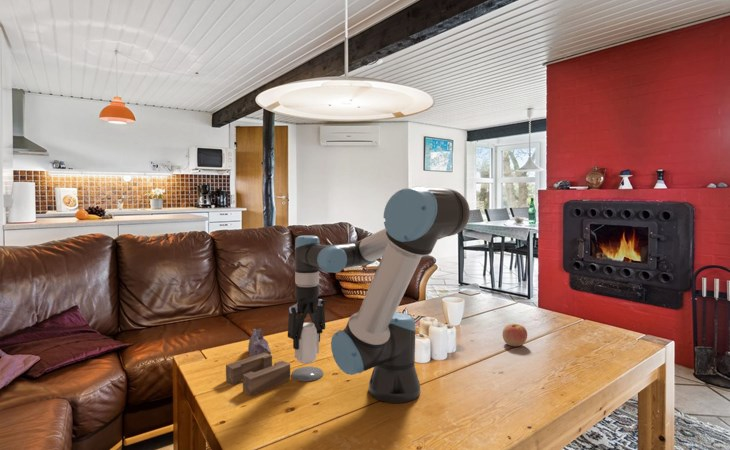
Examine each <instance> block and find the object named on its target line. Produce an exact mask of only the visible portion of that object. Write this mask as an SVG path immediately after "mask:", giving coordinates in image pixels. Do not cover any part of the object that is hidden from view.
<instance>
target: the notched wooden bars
mask: <svg viewBox="0 0 730 450" xmlns="http://www.w3.org/2000/svg"><path fill="white" fill-rule="evenodd" d="M225 381H226V382H228V383H229V384H231V385H232V386H234V385H237V384H240V383H242V392H243V393H246V395H249V396H250V397H252V396H254V395H257V394H260V393H261V392H264V391H267V390H269V389H271V388H274V387H277V386H278V385H281V384H284V383H286V382H289V381H291V364H290V363H288V362H287V361H284V360H280V361H277V362H274V364H273V355H270V354H267V353H265V352H264V353H261V354H258V355H255V356H252V357H251V356H248V357H246V358H244V359H240V360H237V361H234V362H231V363H228V364H226V365H225Z"/></svg>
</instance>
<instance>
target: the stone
mask: <svg viewBox="0 0 730 450" xmlns="http://www.w3.org/2000/svg"><path fill="white" fill-rule="evenodd" d="M247 348H248V349H247V351H248V354H249V357H252V356H255V355H258V354H261V353H264V352H265V353H267V354H270V355H271V354H272V352H271V348H270V345H269V342H268V341H267V340H266V339H265V338H264V333H263V330H262V328H253V329H252V334H251V336H250V338H249V342H248V346H247Z"/></svg>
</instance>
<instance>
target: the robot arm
mask: <svg viewBox="0 0 730 450" xmlns="http://www.w3.org/2000/svg"><path fill="white" fill-rule="evenodd" d="M470 210H471V209H470V205H469V203H468V201H467V199H466V198H465V196H464V195H462V193H460V192H458V191H457V190H455V189H452V188H447V187H446V188H445V187H443V188H437V187H435V188H433V187H423V186H412V187H405V188H402V189H399V190H398V191H396V192H395V193H394V194H393V195H391V197H390V198H389V199H388V200H387V202H386V205H385V207H384V211H383V219H385V221H384V222H383V225H384V229H381V230H379V231H376V232H374V233H371V234H370V235H369V236H366V237H364V238H362V239H360V240H358V241H356V242H347V243H340V244H339V243H338V244H337V243H336V244H326V245H325V244H321V243H320V237H318V236H316V235H299V236H297V237H295V243H294V269H295V270H294V278H295V279H294V283H295V286H294V296H295V299H296V300H295V303H294V304H293V305H291V306H290V305H289V306H288V307H287V312H288V320H287V321H288V322H287V324H288V325H287V338H289V339H291V340H292V347H293V350H294V358H295V359H299V360H302V339H300V336H301V332H302V328H303V324H304V322H305V319H306V318H307V315H309V318H310V322H312V323H314V324H315V327H316V329H317V355H318V354H319V353H320V352H319V351H320V341H321V334H323V332H324V330H326V317H325V316H326V314H325V313H326V311H325V304H326V300H325V299H321V298H319V296H320V285H319V283H320V271H324V272H326V273H334V274H335V273H336V274H337V273H340V272H341V271H342V270H344V269H348V268H354V267H356V268H357V267H365V266H370V265H373V264H374V263H375V262H376V261H377V260H379V259H380V261H379V263H378V266H377V268H376V271H375V273H374V275H373V277H372V279H371V282H370V284H369V287H368V289H367V292H366V294H365V296H364V298H363V300H362V303H361V305H360V308H359V309H358V312H355V313H353V314H351V315H350V316H349V318H348V321H347V323H346V326H345V327H344V329H341V330H338V331H336V332H334V333H333V335H332V336H331V339H330V340H331V341H330V348H331V353H332V357H333V359H334V362H335V363H336V365H337V367H338V368H339V369H340V370H341V371H342V372H343V373H344V374H346V375H352V376H353V375H357V374H362V373H364V372H366V371H367V370H371V369H373V370H372V373H371V375H370V378H369V382H368V392H369V394H370V395H371V396H372V397H373V398H375V399H376V400H379V401H381V402H386V403H392V404H401V403H402V404H403V403H408V402H411V401H414V400H415V399H417V398H418V397H419V396H420V395H421V382H420V380H419V377H418V372H417V370H416V365H415V364H416V363H415V361H416V331H417V330H416V321H415V318H414V317H413V316H412V315H409V314H406V313H404V312H398V311H397V310H398V308H399V306H400V303H401V301H402V300H403V297H404V295H405V293H406V290H407V288H408V286H409V284H410V283H411V280H412V278H413V276H414V274H415V272H416V269H417V268H418V266H419V264H420V261H421V259H422V258H423V257H426V256H427V257H428V256H430V255H431V253H432V252H433V249H434V247H435V245H436V243H437V242H438V240H441V239H443V238H446V237H451V236H455V235H457V234H459V233H461V232H462V231H463V230H464V228H466V226H467V225H468V223H469V220H470V214H471V211H470Z"/></svg>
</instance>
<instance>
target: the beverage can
mask: <svg viewBox="0 0 730 450" xmlns="http://www.w3.org/2000/svg"><path fill="white" fill-rule="evenodd" d="M300 339H302V360H299V359H297V358H296V359H297V362H300V363H301V364H304V365H305V364H306V365H307V364H312V363H313V362H315V361H316V360H317V358H318V356H317V355H318V354H317V329H316V327H315V324H314V323H312V322H311V321H310V322H309V321H306V322H305V321H304V324H303V328H302V332H301V336H300Z"/></svg>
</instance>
